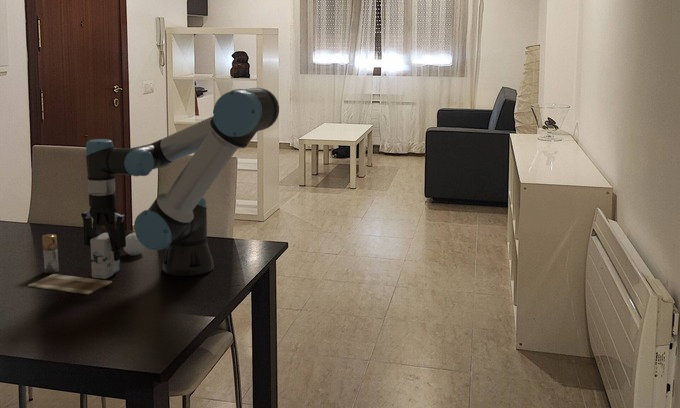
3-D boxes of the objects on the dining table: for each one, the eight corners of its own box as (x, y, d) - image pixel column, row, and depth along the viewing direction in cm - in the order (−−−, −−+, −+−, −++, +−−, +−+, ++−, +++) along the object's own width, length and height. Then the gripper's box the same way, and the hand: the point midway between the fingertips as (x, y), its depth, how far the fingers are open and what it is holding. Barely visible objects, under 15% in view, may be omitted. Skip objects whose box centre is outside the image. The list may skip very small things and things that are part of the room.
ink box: (106, 269, 223) (104, 231, 221) (121, 270, 222) (119, 232, 220) (91, 278, 215) (88, 239, 212) (107, 279, 214) (104, 240, 212)
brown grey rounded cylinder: (61, 270, 222) (59, 234, 220) (53, 273, 218) (50, 238, 216) (50, 268, 223) (48, 233, 221) (41, 272, 219) (39, 236, 217)
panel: (112, 282, 211) (112, 281, 211) (88, 294, 201) (88, 293, 201) (53, 275, 217) (53, 273, 217) (27, 286, 207) (27, 285, 207)
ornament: (118, 256, 237) (118, 233, 240) (138, 260, 242) (138, 238, 245) (129, 249, 232) (129, 226, 236) (150, 253, 238) (150, 230, 241)
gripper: (136, 192, 214) (140, 269, 219) (83, 188, 220) (87, 263, 224) (122, 197, 207) (125, 276, 212) (66, 193, 213) (72, 270, 217)
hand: (106, 269), depth 218 cm, fingers closed on ink box, 5 cm apart
